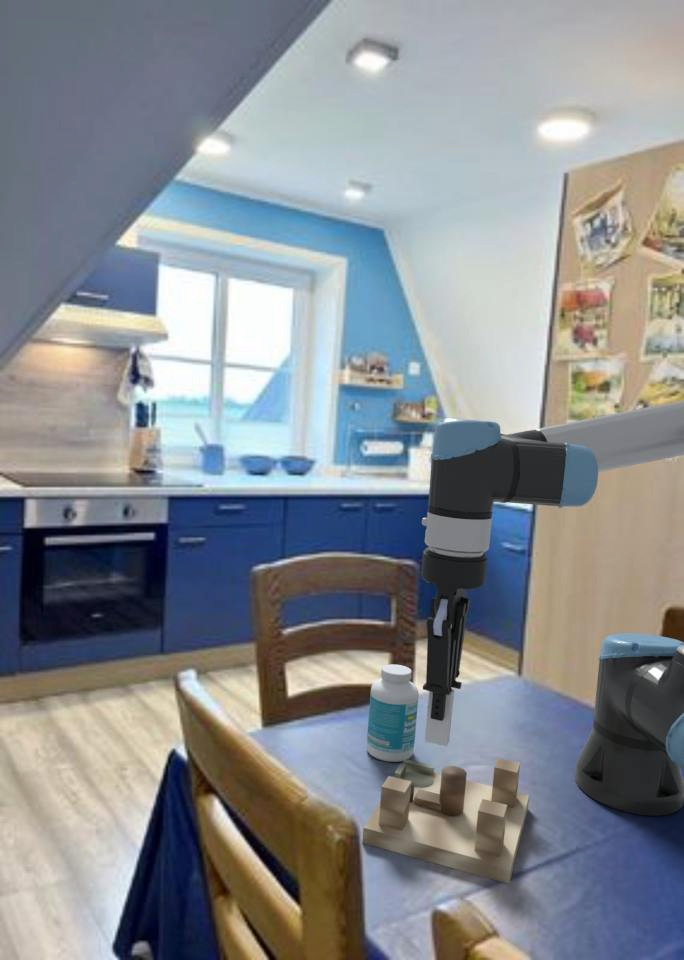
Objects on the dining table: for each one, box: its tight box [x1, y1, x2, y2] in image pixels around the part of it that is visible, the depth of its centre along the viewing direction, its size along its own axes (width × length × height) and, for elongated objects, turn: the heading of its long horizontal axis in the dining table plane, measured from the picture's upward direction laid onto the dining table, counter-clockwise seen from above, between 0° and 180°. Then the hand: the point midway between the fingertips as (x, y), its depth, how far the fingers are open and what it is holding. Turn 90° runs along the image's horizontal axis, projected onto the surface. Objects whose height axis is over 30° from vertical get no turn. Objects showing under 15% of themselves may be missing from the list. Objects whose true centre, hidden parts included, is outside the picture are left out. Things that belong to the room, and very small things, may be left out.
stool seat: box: [361, 757, 530, 885], centre depth 99 cm, size 18×18×7 cm
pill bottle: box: [366, 663, 420, 763], centre depth 118 cm, size 8×7×14 cm
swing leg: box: [414, 765, 467, 815], centre depth 100 cm, size 6×3×5 cm, turn 70°
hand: (437, 741), depth 92 cm, fingers closed
